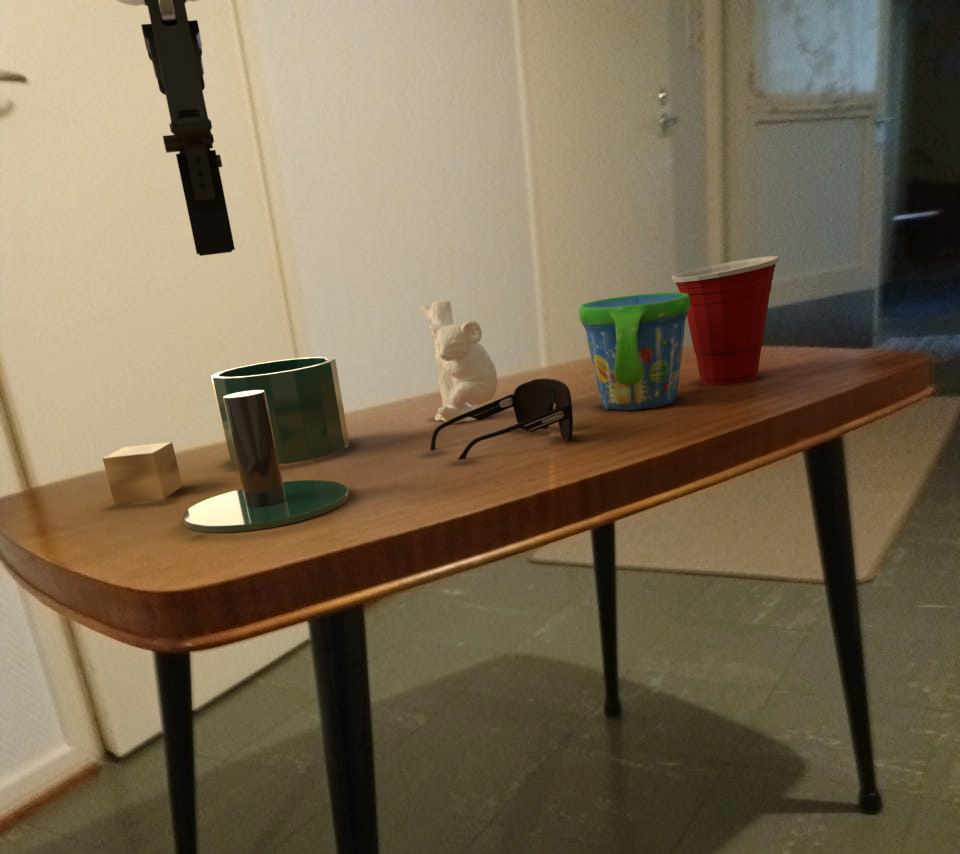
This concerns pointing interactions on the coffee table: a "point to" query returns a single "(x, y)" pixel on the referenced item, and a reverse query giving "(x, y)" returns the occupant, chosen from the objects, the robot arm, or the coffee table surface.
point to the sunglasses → (525, 410)
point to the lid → (260, 479)
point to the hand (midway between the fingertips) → (216, 253)
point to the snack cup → (636, 348)
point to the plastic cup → (728, 317)
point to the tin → (291, 405)
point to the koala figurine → (460, 363)
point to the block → (142, 472)
